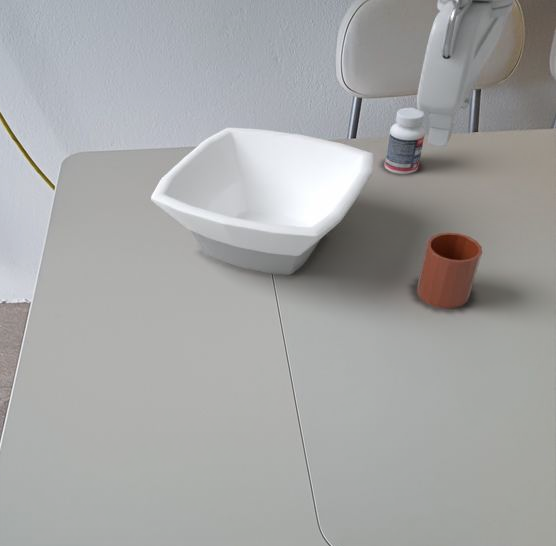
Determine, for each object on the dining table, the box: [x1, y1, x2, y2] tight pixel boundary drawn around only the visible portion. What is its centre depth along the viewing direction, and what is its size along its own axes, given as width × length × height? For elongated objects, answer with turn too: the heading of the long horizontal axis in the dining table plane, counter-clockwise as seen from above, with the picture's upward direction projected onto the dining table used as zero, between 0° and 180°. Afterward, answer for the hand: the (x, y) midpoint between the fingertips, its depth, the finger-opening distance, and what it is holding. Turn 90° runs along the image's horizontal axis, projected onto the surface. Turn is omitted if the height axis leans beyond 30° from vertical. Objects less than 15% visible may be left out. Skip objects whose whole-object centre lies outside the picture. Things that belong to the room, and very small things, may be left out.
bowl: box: [150, 127, 375, 276], centre depth 86 cm, size 24×25×10 cm
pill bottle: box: [384, 107, 426, 175], centre depth 100 cm, size 5×5×9 cm
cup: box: [416, 232, 483, 310], centre depth 77 cm, size 6×6×7 cm
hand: (449, 123), depth 64 cm, fingers open, 8 cm apart
